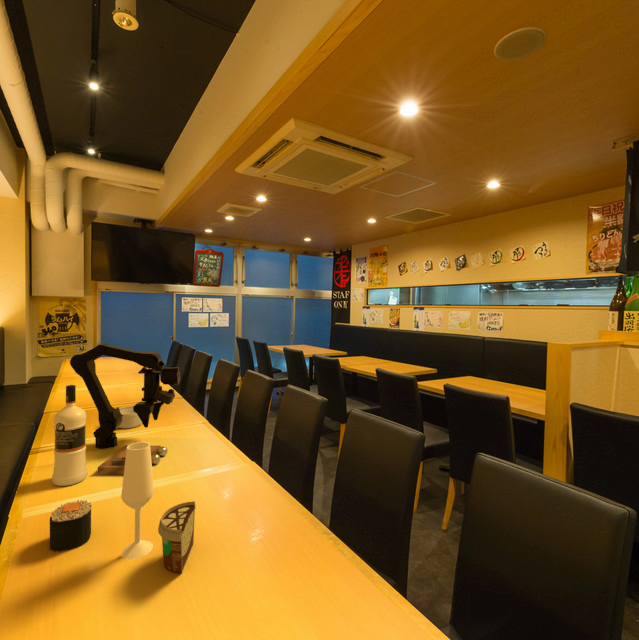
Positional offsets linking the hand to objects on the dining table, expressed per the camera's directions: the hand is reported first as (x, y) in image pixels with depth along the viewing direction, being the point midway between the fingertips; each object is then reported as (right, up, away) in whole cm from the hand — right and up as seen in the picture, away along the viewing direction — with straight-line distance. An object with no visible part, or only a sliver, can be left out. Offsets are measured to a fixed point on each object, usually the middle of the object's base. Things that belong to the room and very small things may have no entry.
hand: (151, 423), depth 146 cm
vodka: (-11, -9, -30) cm, 34 cm away
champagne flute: (+25, -12, -62) cm, 68 cm away
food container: (+35, -12, -65) cm, 75 cm away
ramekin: (-21, -7, +23) cm, 32 cm away
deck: (+1, -9, -17) cm, 19 cm away
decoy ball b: (+9, -8, -17) cm, 21 cm away
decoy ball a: (+9, -7, -10) cm, 16 cm away
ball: (+1, -5, -12) cm, 13 cm away
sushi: (+8, -11, -59) cm, 61 cm away
